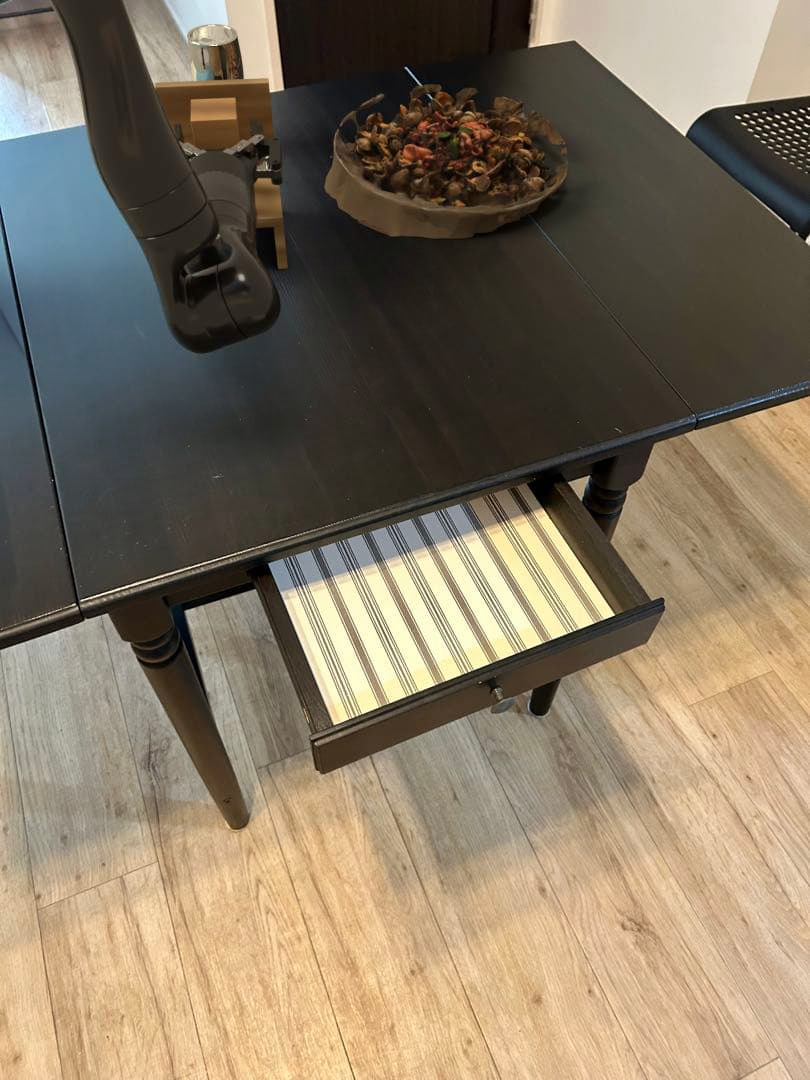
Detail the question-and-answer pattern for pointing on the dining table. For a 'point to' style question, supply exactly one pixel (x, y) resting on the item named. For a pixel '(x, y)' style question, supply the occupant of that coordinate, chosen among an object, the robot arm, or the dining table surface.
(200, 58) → the silver metal cylinder
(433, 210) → the food dish
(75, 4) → the robot arm
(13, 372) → the dining table surface
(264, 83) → the miniature wooden chair
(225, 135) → the kraft box
